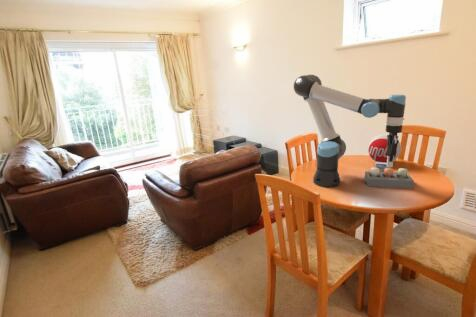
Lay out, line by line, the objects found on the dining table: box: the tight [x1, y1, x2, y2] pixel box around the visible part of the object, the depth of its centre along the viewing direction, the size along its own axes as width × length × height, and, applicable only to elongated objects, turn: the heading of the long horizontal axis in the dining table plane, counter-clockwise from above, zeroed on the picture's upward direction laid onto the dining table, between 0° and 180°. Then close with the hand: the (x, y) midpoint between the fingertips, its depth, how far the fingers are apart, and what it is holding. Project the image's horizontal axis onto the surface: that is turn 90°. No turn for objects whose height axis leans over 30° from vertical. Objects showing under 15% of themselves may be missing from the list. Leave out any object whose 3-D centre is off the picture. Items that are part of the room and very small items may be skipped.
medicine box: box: [374, 161, 391, 172], centre depth 159 cm, size 8×4×9 cm, turn 62°
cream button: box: [370, 166, 380, 177], centre depth 151 cm, size 4×4×6 cm
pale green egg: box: [397, 167, 409, 178], centre depth 147 cm, size 4×4×6 cm
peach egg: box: [384, 167, 394, 178], centre depth 149 cm, size 4×4×6 cm
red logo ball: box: [367, 133, 402, 163], centre depth 180 cm, size 20×20×20 cm
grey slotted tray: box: [364, 170, 415, 189], centre depth 150 cm, size 22×12×4 cm, turn 74°
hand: (389, 166), depth 147 cm, fingers closed
